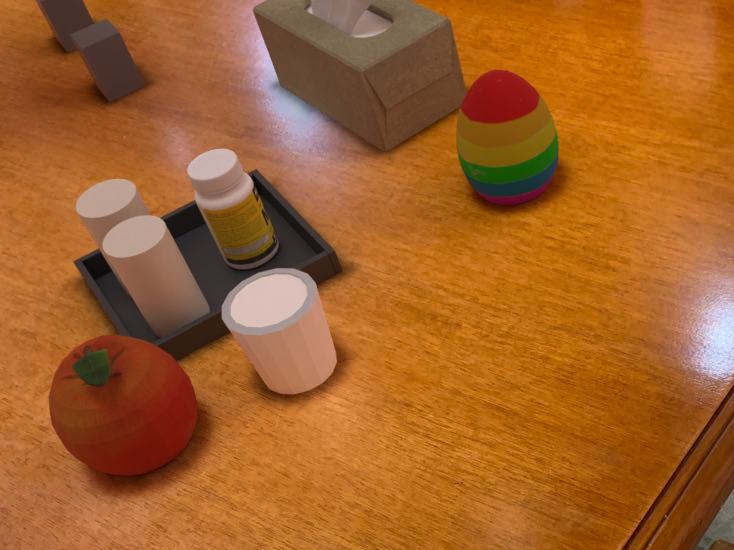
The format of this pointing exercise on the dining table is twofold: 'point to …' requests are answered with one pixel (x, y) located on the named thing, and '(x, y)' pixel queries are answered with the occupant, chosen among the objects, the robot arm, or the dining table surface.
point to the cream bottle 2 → (155, 273)
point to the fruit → (122, 405)
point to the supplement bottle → (232, 209)
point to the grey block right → (107, 59)
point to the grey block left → (65, 19)
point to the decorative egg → (506, 139)
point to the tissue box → (366, 63)
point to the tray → (211, 270)
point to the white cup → (282, 329)
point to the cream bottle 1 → (109, 210)
